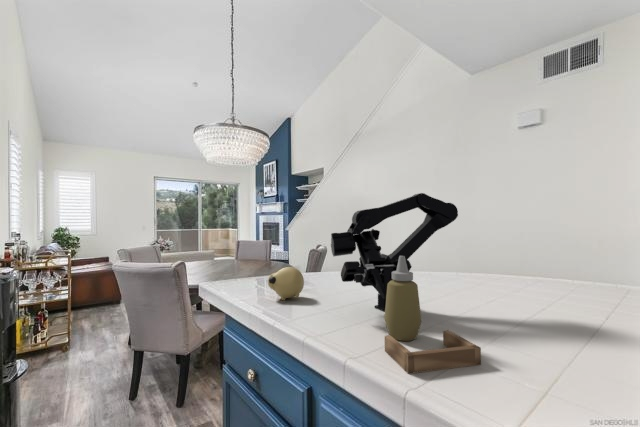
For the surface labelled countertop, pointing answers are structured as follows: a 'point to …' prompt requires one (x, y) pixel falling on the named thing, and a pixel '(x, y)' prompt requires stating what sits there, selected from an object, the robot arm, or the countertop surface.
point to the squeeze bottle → (402, 304)
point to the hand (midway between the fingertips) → (385, 297)
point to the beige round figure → (287, 282)
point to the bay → (435, 354)
